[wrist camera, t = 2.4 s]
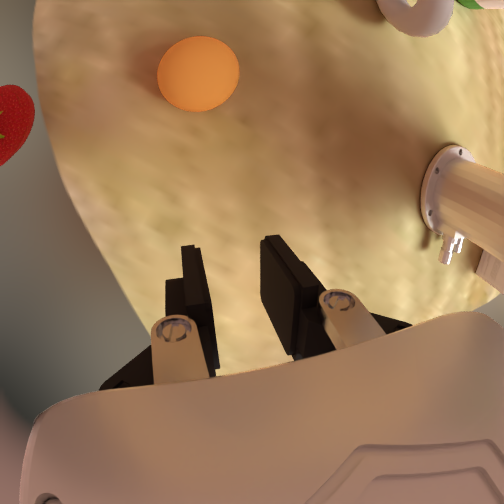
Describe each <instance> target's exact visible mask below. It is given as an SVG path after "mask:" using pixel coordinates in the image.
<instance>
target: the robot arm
mask: <svg viewBox="0 0 504 504" xmlns="http://www.w3.org/2000/svg"><path fill="white" fill-rule="evenodd" d="M421 211H422V216H423V219H424V222H425V224H426V225H427V227H428V228H429V229H430V230H432V231H433V232H435V233H437V234H439V235H442V239H443V240H444V241H443V245H442V247H441V251H440V254H439V258H438V260H439V261H440V262H441V263H443V264H450V262H451V258H452V255H453V251H454V252H456V253H460V252H461V248H462V245H463V244H462V243H463V239H464V238H467V239H468V240H470V241H472V242H473V243H475V244H476V245H478V246H480V247H481V248H483V249H484V250H486V251H487V252H489V253H490V254H492V255H493V256H495V257H496V258H498V259H499V260H501V261H502V262H504V174H503V173H500V172H498V171H495V170H492V169H490V168H487V167H485V166H482V165H479V164H476V162H475V160H474V157H473V156H472V154H471V153H470V152H469V151H468V150H467V149H466V148H464V147H461V146H457V145H449V146H447V147H444V148H443V149H442V150H440V151H439V152H438V153H437V154H436V156H435V157H434V158H433V160H432V161H431V163H430V165H429V167H428V169H427V171H426V174H425V177H424V180H423V184H422V189H421ZM181 254H182V267H183V278H177V279H169V280H166V285H165V312H166V317H164V318H162V319H160V320H158V321H157V322H156V323H155V324H154V325H153V327H152V329H151V345H150V346H149V347H147V348H146V349H145V350H144V351H142V352H141V353H140V354H139V355H137V356H136V357H135V358H134V359H132V360H131V361H130V362H129V363H128V364H126V365H125V366H124V367H123V368H122V369H120V370H119V371H118V372H117V373H115V374H114V375H113V376H112V377H110V378H109V379H108V380H106V381H105V382H104V383H103V384H102V385H101V387H100V389H99V391H95V392H90V393H86V394H82V395H77V396H74V397H72V398H69V399H66V400H63V401H61V402H59V403H56V404H55V405H53V406H51V407H49V408H48V409H46V410H45V411H44V412H42V413H40V414H39V415H38V416H37V417H36V419H35V420H34V423H33V429H32V431H31V434H30V437H29V440H28V443H27V447H26V451H25V456H24V462H23V467H22V475H21V483H20V497H19V499H20V500H19V504H504V328H503V327H502V326H501V325H499V324H498V323H497V322H495V321H494V320H493V319H491V318H490V317H489V316H487V315H485V314H483V313H479V312H456V313H450V314H446V315H442V316H439V317H436V318H433V319H430V320H427V321H424V322H421V323H419V324H416V325H412V324H409V323H407V322H403V321H399V320H396V319H392V318H388V317H385V316H381V315H377V314H374V313H370V312H369V311H368V310H367V309H366V308H365V306H364V305H363V304H362V302H361V301H360V300H359V299H358V297H356V296H355V295H354V294H353V293H351V292H349V291H346V290H342V289H330V290H326V289H325V287H324V286H323V285H322V284H321V282H320V281H319V280H318V279H317V277H316V276H315V275H314V274H313V272H312V271H311V270H310V269H309V268H308V266H307V265H306V264H305V263H304V262H303V261H300V260H299V259H298V257H297V256H296V255H295V254H294V252H293V251H292V250H291V249H290V248H289V246H288V245H287V244H286V243H285V241H284V240H283V239H282V238H281V236H280V235H270V236H265V239H264V240H261V242H260V294H261V300H262V303H263V305H264V307H265V309H266V311H267V314H268V316H269V318H270V320H271V322H272V324H273V326H274V328H275V331H276V333H277V335H278V337H279V339H280V341H281V343H282V345H283V348H284V350H285V352H286V354H287V355H292V357H293V359H294V361H292V362H287V363H283V364H279V365H274V366H269V367H265V368H260V369H255V370H250V371H245V372H239V373H234V374H228V375H222V376H216V372H215V369H220V363H219V356H218V349H217V341H216V334H215V326H214V318H213V310H212V303H211V298H210V293H209V288H208V284H207V279H206V274H205V270H204V265H203V260H202V255H201V250H200V248H195V246H194V245H187V246H181Z"/></svg>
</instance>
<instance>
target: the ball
mask: <svg viewBox="0 0 504 504" xmlns="http://www.w3.org/2000/svg"><path fill="white" fill-rule="evenodd" d="M238 80H239V64H238V60H237V58H236V56H235V54H234V52H233V51H232V50H231V49H230V48H229V47H228V46H227V45H226V44H225V43H223V42H221V41H220V40H217V39H215V38H211V37H206V36H195V37H190V38H186V39H183V40H181V41H179V42H177V43H176V44H174V45H173V46H172V47H171V48H170V49H168V51H167V52H166V53H165V54H164V56H163V57H162V59H161V61H160V63H159V66H158V71H157V81H158V86H159V89H160V91H161V93H162V94H163V96H164V97H165V98H166V100H167V101H168V102H170V103H171V104H172V105H174V106H175V107H177V108H180V109H182V110H186V111H192V112H200V111H206V110H210V109H213V108H215V107H217V106H219V105H220V104H222V103H223V102H225V101H226V100H227V99H228V98H229V97H230V96H231V95H232V93H233V92H234V90H235V88H236V86H237V83H238Z"/></svg>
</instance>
